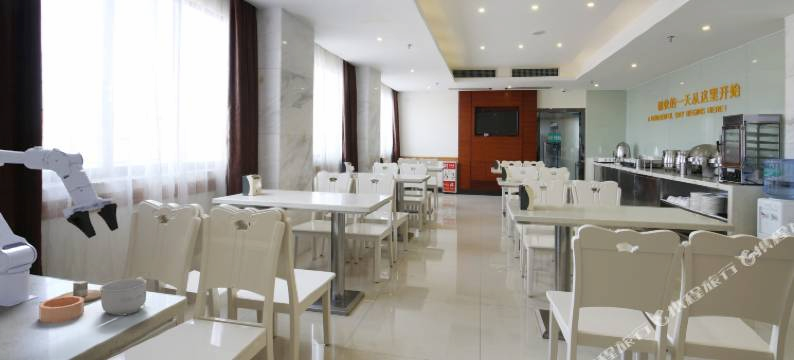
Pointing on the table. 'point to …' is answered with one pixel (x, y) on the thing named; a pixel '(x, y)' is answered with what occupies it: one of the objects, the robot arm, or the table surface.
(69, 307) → the bowl
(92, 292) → the lid
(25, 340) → the table surface
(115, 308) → the teacup
